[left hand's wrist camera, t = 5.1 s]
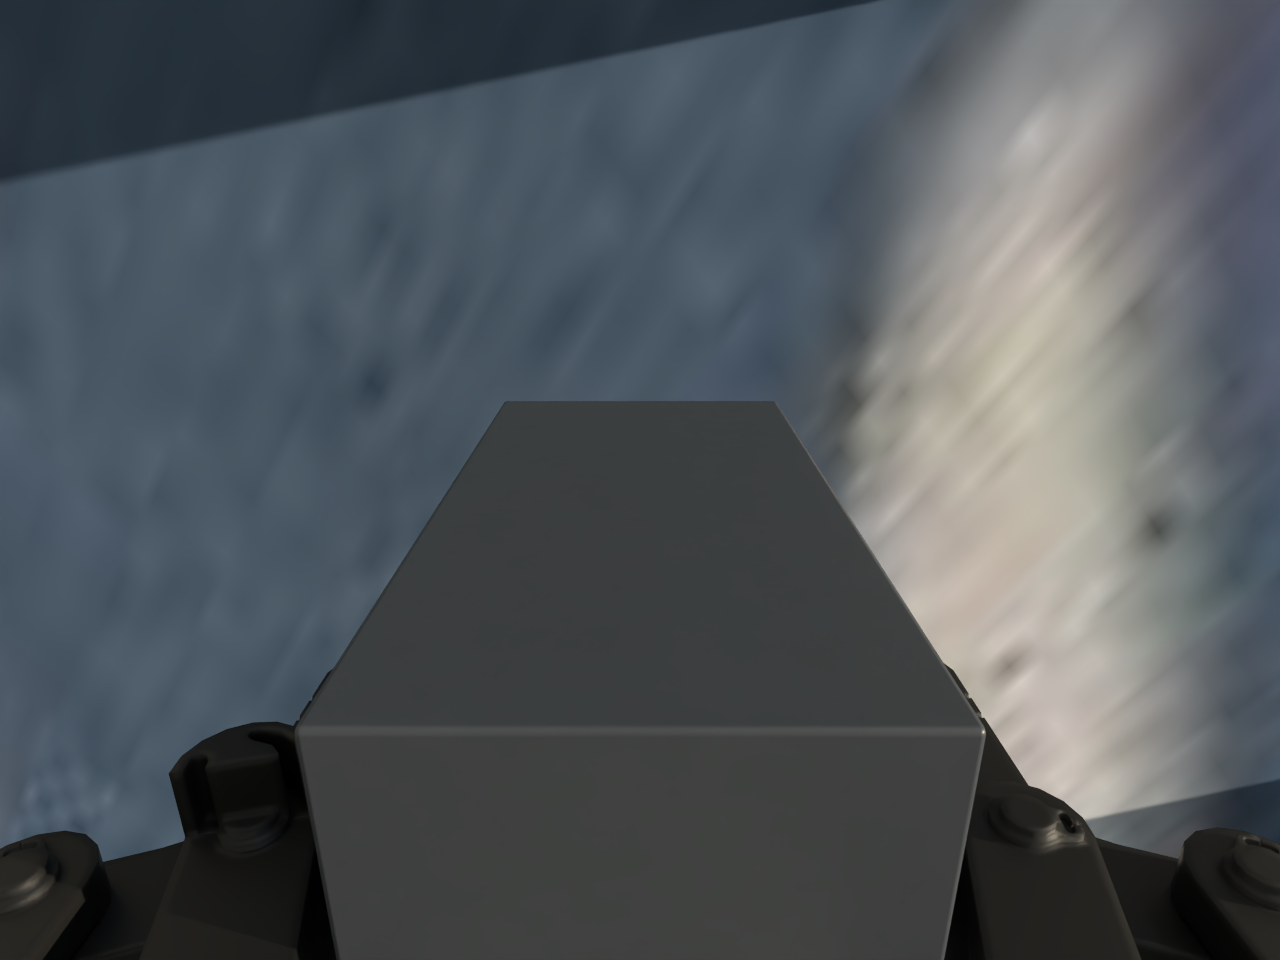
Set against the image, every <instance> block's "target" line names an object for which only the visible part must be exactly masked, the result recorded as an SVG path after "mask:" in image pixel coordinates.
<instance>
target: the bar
mask: <svg viewBox="0 0 1280 960" xmlns="http://www.w3.org/2000/svg"><path fill="white" fill-rule="evenodd" d="M985 738H986V731H985V728H984V726H983V724H982V722H981V721H980V719H979V718H978V716H977V715H976V713H975V712H974V710H973V708H972V707H971V705H970V704H969V702H968V701H967V699H966V698H965V696H964V694H963V693H962V691H961V690H960V688H959V687H958V685H957V684H956V682H955V680H954V679H953V677H952V676H951V674H950V673H949V671H948V669H947V668H946V666H945V665H944V663H943V662H942V660H941V659H940V657H939V655H938V654H937V652H936V651H935V649H934V648H933V646H932V645H931V643H930V641H929V640H928V638H927V637H926V635H925V634H924V632H923V631H922V629H921V627H920V626H919V624H918V623H917V621H916V620H915V618H914V617H913V615H912V613H911V612H910V610H909V609H908V607H907V606H906V604H905V602H904V601H903V599H902V598H901V596H900V595H899V593H898V592H897V590H896V588H895V587H894V585H893V584H892V582H891V581H890V579H889V578H888V576H887V574H886V573H885V571H884V570H883V568H882V567H881V565H880V564H879V562H878V560H877V559H876V557H875V556H874V554H873V553H872V551H871V550H870V548H869V546H868V545H867V543H866V542H865V540H864V539H863V537H862V536H861V534H860V532H859V531H858V529H857V528H856V526H855V525H854V523H853V521H852V520H851V518H850V517H849V515H848V514H847V512H846V511H845V509H844V507H843V506H842V504H841V503H840V501H839V500H838V498H837V497H836V495H835V493H834V492H833V490H832V489H831V487H830V486H829V484H828V483H827V481H826V479H825V478H824V476H823V475H822V473H821V472H820V470H819V469H818V467H817V465H816V464H815V462H814V461H813V459H812V458H811V456H810V455H809V453H808V451H807V450H806V448H805V447H804V445H803V444H802V442H801V440H800V439H799V437H798V436H797V434H796V433H795V431H794V430H793V428H792V426H791V425H790V423H789V422H788V420H787V419H786V417H785V416H784V414H783V412H782V411H781V409H780V408H779V406H778V405H777V403H776V402H774V401H507V402H505V403H504V404H503V406H502V407H501V409H500V410H499V412H498V414H497V415H496V417H495V418H494V420H493V421H492V423H491V424H490V426H489V428H488V429H487V431H486V432H485V434H484V435H483V437H482V438H481V440H480V442H479V443H478V445H477V446H476V448H475V449H474V451H473V452H472V454H471V456H470V457H469V459H468V460H467V462H466V463H465V465H464V466H463V468H462V470H461V471H460V473H459V474H458V476H457V477H456V479H455V480H454V482H453V484H452V485H451V487H450V488H449V490H448V491H447V493H446V494H445V496H444V498H443V499H442V501H441V502H440V504H439V505H438V507H437V508H436V510H435V512H434V513H433V515H432V516H431V518H430V519H429V521H428V522H427V524H426V525H425V527H424V529H423V530H422V532H421V533H420V535H419V536H418V538H417V539H416V541H415V543H414V544H413V546H412V547H411V549H410V550H409V552H408V553H407V555H406V557H405V558H404V560H403V561H402V563H401V564H400V566H399V567H398V569H397V571H396V572H395V574H394V575H393V577H392V578H391V580H390V581H389V583H388V585H387V586H386V588H385V589H384V591H383V592H382V594H381V595H380V597H379V599H378V600H377V602H376V603H375V605H374V606H373V608H372V609H371V611H370V613H369V614H368V616H367V617H366V619H365V620H364V622H363V623H362V625H361V627H360V628H359V630H358V631H357V633H356V634H355V636H354V637H353V639H352V641H351V642H350V644H349V645H348V647H347V648H346V650H345V651H344V653H343V654H342V656H341V658H340V659H339V661H338V662H337V664H336V665H335V667H334V668H333V670H332V672H331V673H330V675H329V676H328V678H327V679H326V681H325V682H324V684H323V686H322V687H321V689H320V690H319V692H318V693H317V695H316V696H315V698H314V700H313V701H312V703H311V704H310V706H309V707H308V709H307V710H306V712H305V714H304V715H303V717H302V718H301V720H300V721H299V723H298V724H297V726H296V729H295V740H296V746H297V751H298V757H299V762H300V767H301V773H302V778H303V783H304V789H305V794H306V799H307V805H308V810H309V815H310V821H311V826H312V831H313V837H314V842H315V847H316V853H317V858H318V863H319V869H320V874H321V879H322V885H323V890H324V895H325V901H326V906H327V911H328V917H329V922H330V927H331V933H332V938H333V944H334V949H335V954H336V960H944V957H945V951H946V946H947V941H948V935H949V930H950V925H951V919H952V914H953V909H954V903H955V898H956V893H957V887H958V882H959V877H960V871H961V866H962V861H963V855H964V850H965V845H966V839H967V834H968V829H969V823H970V818H971V813H972V807H973V802H974V797H975V791H976V786H977V781H978V775H979V770H980V765H981V759H982V754H983V749H984V743H985Z"/></svg>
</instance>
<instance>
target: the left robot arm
mask: <svg viewBox="0 0 1280 960" xmlns="http://www.w3.org/2000/svg"><path fill="white" fill-rule="evenodd" d="M944 665H945V664H944ZM945 666H946V668H947V669H948V671H949V673H950V674H951V676H952V677H953V679H954V680H955V682H956V684H957V685H958V687H959V688H960V690H961V691H962V693H963V694H964V696H965V698H966V699H967V701H968V702H969V704H970V705H971V707H972V708H973V710H974V712H975V713H976V715H977V716H978V718H979V719H980V721H981V722H982V724H983V726H984V728H985V731H986V738H985V743H984V749H983V754H982V759H981V765H980V770H979V775H978V781H977V786H976V791H975V797H974V802H973V807H972V813H971V818H970V823H969V829H968V834H967V839H966V845H965V850H964V855H963V861H962V866H961V871H960V877H959V882H958V887H957V893H956V898H955V903H954V909H953V914H952V919H951V925H950V930H949V935H948V941H947V946H946V951H945V957H944V960H1280V845H1279V844H1277V843H1276V842H1273V841H1270V840H1267V839H1264V838H1262V837H1259V836H1256V835H1253V834H1250V833H1247V832H1245V831H1238V830H1230V829H1223V828H1212V829H1206V830H1200V831H1195V832H1194V833H1193V834H1192V835H1191V836H1190V837H1189V838H1188V839H1187V840H1185V841H1184V844H1183V847H1182V850H1181V853H1180V857H1179V859H1176V858H1172V857H1168V856H1163V855H1159V854H1155V853H1151V852H1147V851H1142V850H1138V849H1134V848H1130V847H1126V846H1121V845H1118V844H1114V843H1111V842H1108V841H1105V840H1101V839H1098V838H1096V837H1095V836H1094V835H1093V833H1092V831H1091V830H1090V828H1089V827H1088V825H1087V824H1086V822H1085V820H1084V819H1083V818H1082V817H1081V816H1080V815H1079V814H1078V813H1077V812H1075V811H1074V810H1073V809H1072V808H1071V807H1069V806H1068V805H1067V804H1066V803H1065V802H1064V801H1062V800H1060V799H1058V798H1056V797H1054V796H1052V795H1050V794H1048V793H1046V792H1045V791H1043V790H1041V789H1038V788H1035V787H1031V786H1028V784H1027V783H1026V781H1025V779H1024V778H1023V776H1022V775H1021V773H1020V772H1019V770H1018V769H1017V767H1016V766H1015V764H1014V763H1013V761H1012V760H1011V758H1010V756H1009V755H1008V753H1007V752H1006V750H1005V749H1004V747H1003V746H1002V744H1001V743H1000V741H999V740H998V738H997V737H996V735H995V734H994V732H993V730H992V729H991V727H990V726H989V724H988V723H987V721H986V720H985V718H982V717H981V712H980V711H979V709H978V707H977V706H976V704H975V703H974V701H973V700H972V698H969V696H968V692H967V691H966V689H965V688H964V686H963V684H962V683H961V681H960V680H959V678H958V677H957V675H956V674H955V672H954V671H953V670H952V669H951V668H949V667H948V666H947V665H945ZM332 670H333V669H332ZM332 670H331V671H329V672H328V673H327V675H326V676H325V678H324V679H323V681H322V682H321V684H320V685H319V687H318V689H317V690H316V692H315V693H314V695H313V699H312V701H313V700H314V698H315V696H316V695H317V693H318V692H319V690H320V689H321V687H322V686H323V684H324V682H325V681H326V679H327V678H328V676H329V675H330V673H331V672H332ZM312 701H309V702H308V704H307V705H306V707H305V709H304V710H303V712H302V713H301V715H300V720H301V718H302V717H303V715H304V714H305V712H306V710H307V709H308V707H309V706H310V704H311V703H312ZM300 720H299V721H300ZM299 721H296V722H295V724H294V726H291V725H287V724H284V723H280V722H255V723H250V724H246V725H242V726H238V727H234V728H230V729H226V730H224V731H222V732H220V733H218V734H216V735H213V736H211V737H209V738H207V739H205V740H203V741H201V742H200V743H198V744H197V745H196V746H194V747H193V748H192V749H190V750H189V751H188V752H186V753H185V754H184V755H182V756H181V758H180V759H179V760H178V762H177V763H176V764H175V766H174V767H173V769H172V770H171V771H170V773H169V776H170V780H171V784H172V788H173V791H174V795H175V799H176V803H177V807H178V811H179V815H180V818H181V822H182V826H183V830H184V834H185V840H184V841H183V842H180V843H177V844H173V845H170V846H167V847H164V848H160V849H156V850H152V851H147V852H143V853H139V854H135V855H131V856H126V857H122V858H118V859H114V860H110V861H105V862H103V861H102V858H101V854H100V851H99V848H98V845H97V844H96V843H95V842H94V841H93V840H92V839H90V838H89V837H88V836H87V835H86V834H81V833H75V832H69V831H60V832H52V833H45V834H38V835H35V836H32V837H29V838H26V839H24V840H21V841H18V842H15V843H12V844H9V845H7V846H5V847H3V848H1V849H0V960H336V954H335V949H334V944H333V938H332V933H331V927H330V922H329V917H328V911H327V906H326V901H325V895H324V890H323V885H322V879H321V874H320V869H319V863H318V858H317V853H316V847H315V842H314V837H313V831H312V826H311V821H310V815H309V810H308V805H307V799H306V794H305V789H304V783H303V778H302V773H301V767H300V762H299V757H298V751H297V746H296V740H295V729H296V726H297V724H298V723H299Z"/></svg>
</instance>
